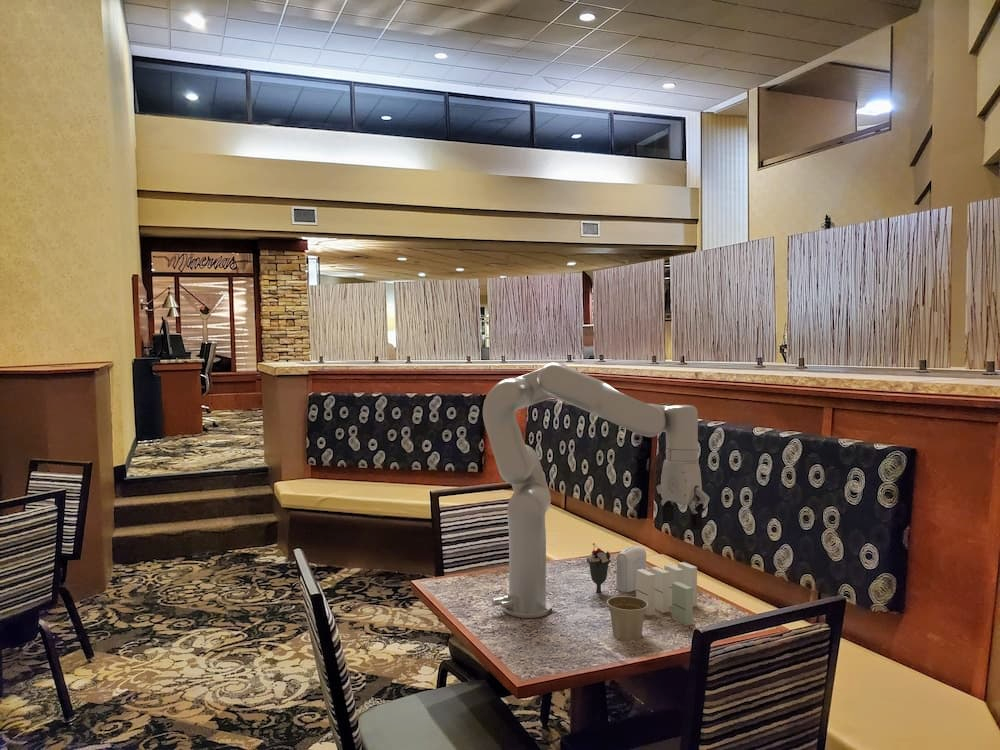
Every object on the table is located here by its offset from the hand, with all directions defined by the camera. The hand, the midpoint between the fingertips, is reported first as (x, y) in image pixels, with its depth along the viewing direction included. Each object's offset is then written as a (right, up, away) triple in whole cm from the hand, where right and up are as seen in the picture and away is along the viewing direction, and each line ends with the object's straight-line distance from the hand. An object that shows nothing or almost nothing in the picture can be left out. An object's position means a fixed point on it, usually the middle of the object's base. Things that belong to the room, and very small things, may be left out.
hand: (681, 525), depth 166 cm
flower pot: (-15, -24, -10) cm, 30 cm away
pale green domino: (-1, -24, -2) cm, 24 cm away
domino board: (-4, -24, +6) cm, 25 cm away
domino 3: (0, -23, +8) cm, 24 cm away
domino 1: (-8, -23, +4) cm, 24 cm away
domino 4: (+4, -23, +10) cm, 25 cm away
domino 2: (-4, -23, +6) cm, 24 cm away
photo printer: (-8, -24, +23) cm, 34 cm away
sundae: (-18, -24, +18) cm, 35 cm away
